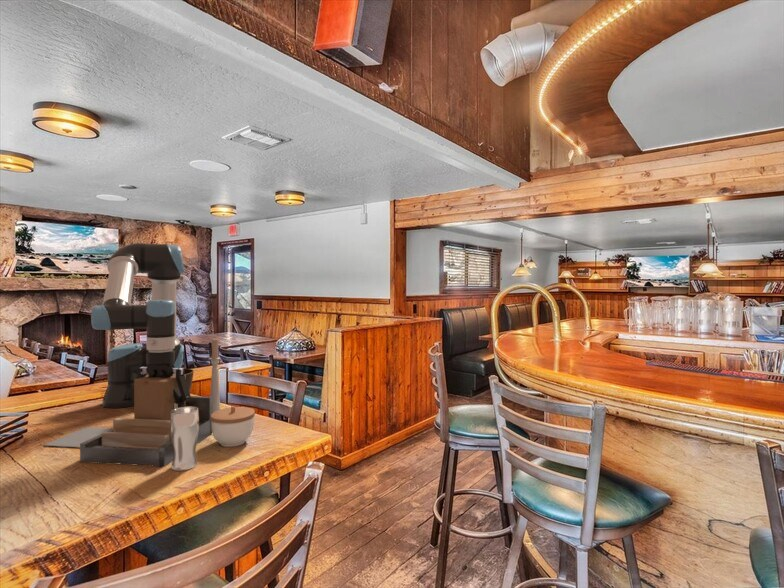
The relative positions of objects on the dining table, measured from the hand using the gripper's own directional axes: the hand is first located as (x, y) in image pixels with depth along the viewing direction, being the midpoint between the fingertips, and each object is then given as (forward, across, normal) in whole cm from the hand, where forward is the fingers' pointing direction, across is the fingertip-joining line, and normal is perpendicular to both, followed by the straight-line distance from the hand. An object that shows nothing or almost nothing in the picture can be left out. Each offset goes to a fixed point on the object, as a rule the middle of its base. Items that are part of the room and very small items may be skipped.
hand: (160, 422), depth 124 cm
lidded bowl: (+6, +22, +2) cm, 23 cm away
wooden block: (+6, 0, 0) cm, 6 cm away
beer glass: (+6, +17, -15) cm, 23 cm away
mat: (+6, -24, 0) cm, 25 cm away
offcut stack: (+6, 0, -10) cm, 12 cm away
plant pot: (+6, -12, +23) cm, 27 cm away
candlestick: (+6, +8, +17) cm, 20 cm away
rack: (+6, 0, -4) cm, 7 cm away
